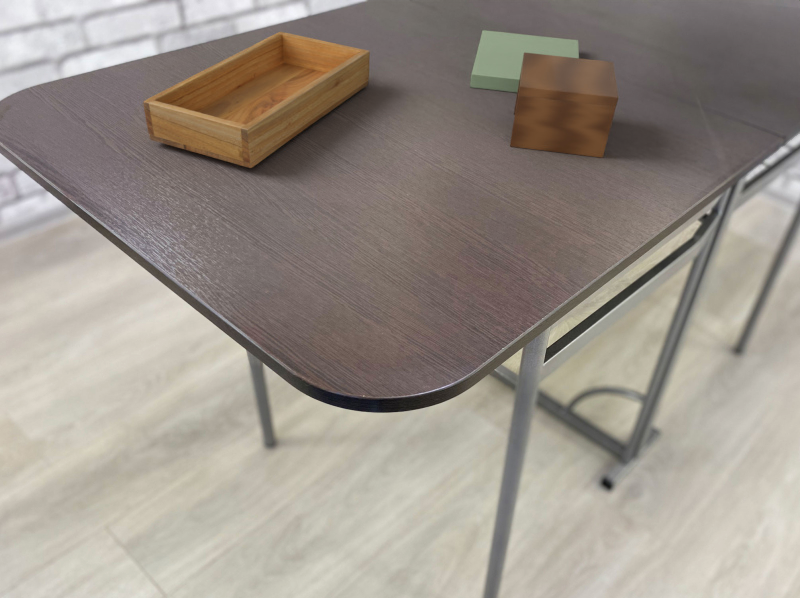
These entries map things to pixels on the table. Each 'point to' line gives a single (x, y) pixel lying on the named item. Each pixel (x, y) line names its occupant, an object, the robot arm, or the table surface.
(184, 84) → the tray
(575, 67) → the wood grain cuboid
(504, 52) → the sage green flat slab
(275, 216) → the table surface
